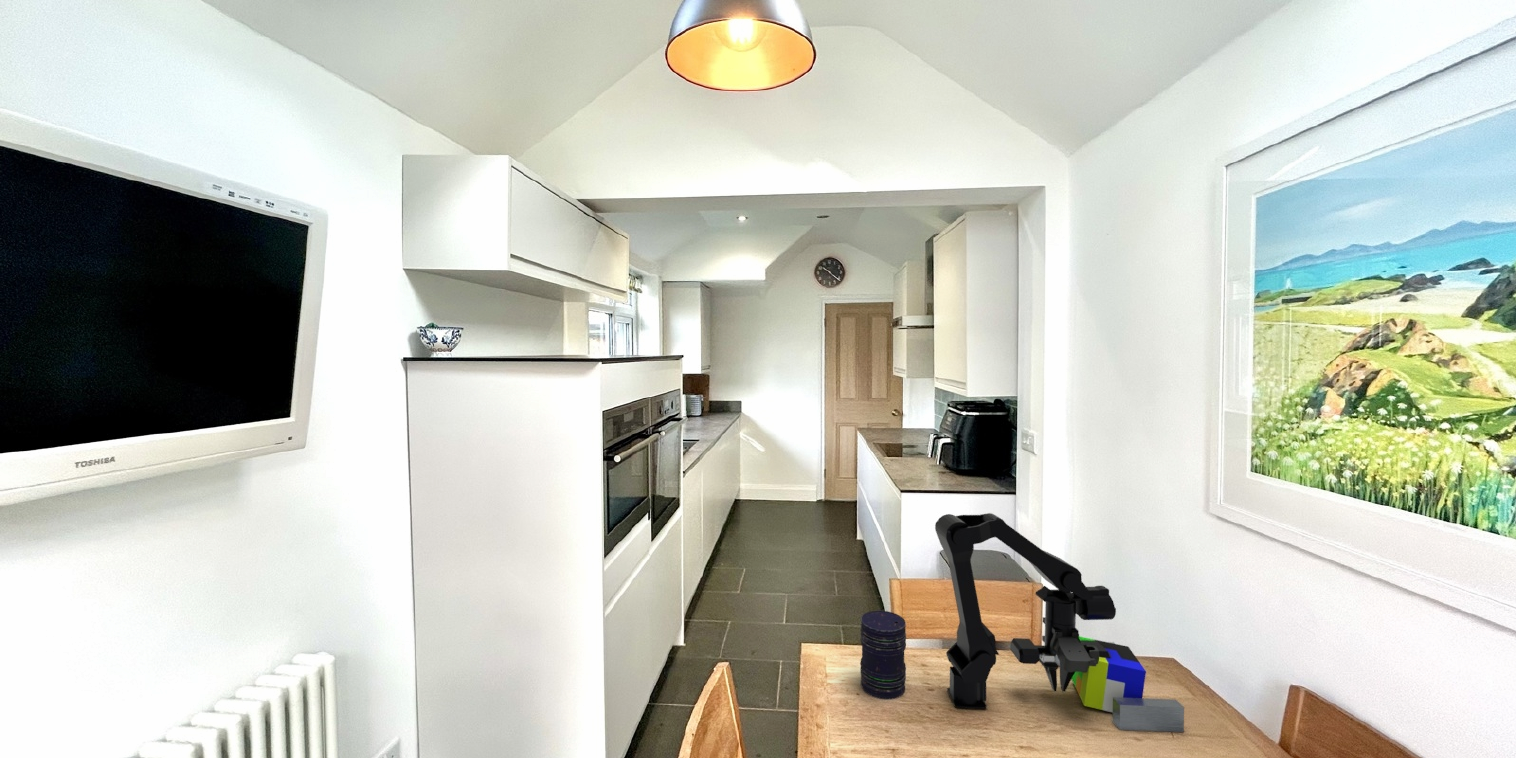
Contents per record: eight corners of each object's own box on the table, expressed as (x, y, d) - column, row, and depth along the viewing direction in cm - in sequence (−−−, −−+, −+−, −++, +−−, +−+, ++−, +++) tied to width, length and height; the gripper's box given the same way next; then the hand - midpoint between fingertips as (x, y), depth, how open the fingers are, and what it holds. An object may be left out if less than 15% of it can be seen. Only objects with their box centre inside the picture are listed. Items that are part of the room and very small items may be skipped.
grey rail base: (1113, 729, 109) (1114, 704, 109) (1054, 660, 134) (1054, 640, 134) (1189, 732, 108) (1190, 707, 108) (1115, 662, 133) (1116, 642, 133)
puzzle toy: (1139, 718, 113) (1146, 671, 112) (1084, 705, 115) (1090, 659, 115) (1122, 690, 122) (1128, 646, 122) (1071, 678, 125) (1077, 635, 124)
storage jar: (856, 693, 121) (856, 626, 121) (864, 670, 131) (864, 607, 130) (903, 703, 118) (903, 634, 117) (908, 678, 127) (908, 614, 126)
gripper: (1031, 636, 112) (1029, 712, 112) (1128, 639, 111) (1126, 716, 111) (1009, 611, 123) (1008, 680, 123) (1097, 613, 122) (1095, 683, 122)
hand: (1058, 690), depth 120 cm, fingers closed on puzzle toy
